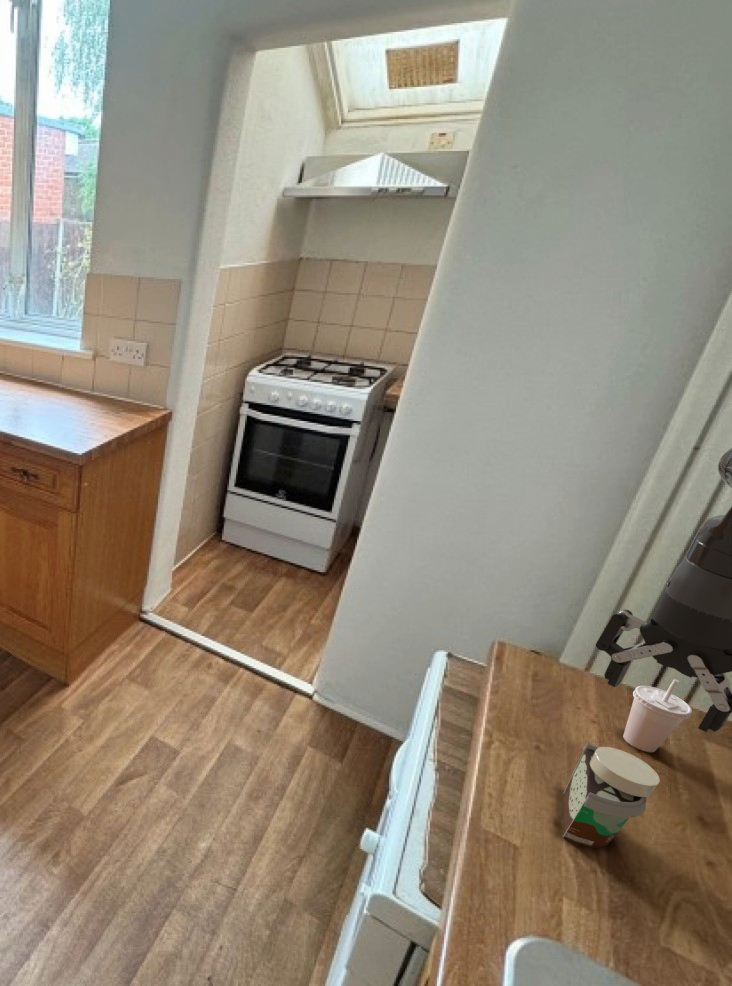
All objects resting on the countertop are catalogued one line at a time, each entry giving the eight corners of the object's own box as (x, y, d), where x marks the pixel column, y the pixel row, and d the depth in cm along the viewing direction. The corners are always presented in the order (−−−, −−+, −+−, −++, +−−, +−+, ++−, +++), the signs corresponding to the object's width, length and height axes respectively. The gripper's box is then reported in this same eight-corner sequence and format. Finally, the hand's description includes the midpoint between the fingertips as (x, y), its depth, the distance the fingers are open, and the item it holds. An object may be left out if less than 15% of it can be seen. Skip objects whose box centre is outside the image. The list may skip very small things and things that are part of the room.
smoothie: (616, 748, 99) (652, 681, 94) (607, 723, 104) (641, 658, 99) (671, 767, 95) (712, 699, 90) (659, 740, 100) (697, 674, 95)
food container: (624, 878, 79) (656, 825, 75) (561, 846, 83) (589, 795, 79) (618, 815, 88) (647, 764, 84) (562, 789, 91) (587, 740, 88)
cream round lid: (660, 789, 80) (668, 775, 79) (639, 807, 78) (647, 792, 77) (600, 754, 85) (607, 740, 85) (579, 769, 83) (586, 756, 82)
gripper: (817, 625, 67) (750, 734, 73) (645, 564, 79) (599, 662, 85) (795, 644, 64) (726, 756, 70) (619, 578, 76) (573, 678, 82)
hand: (656, 705), depth 78 cm, fingers open, 8 cm apart
